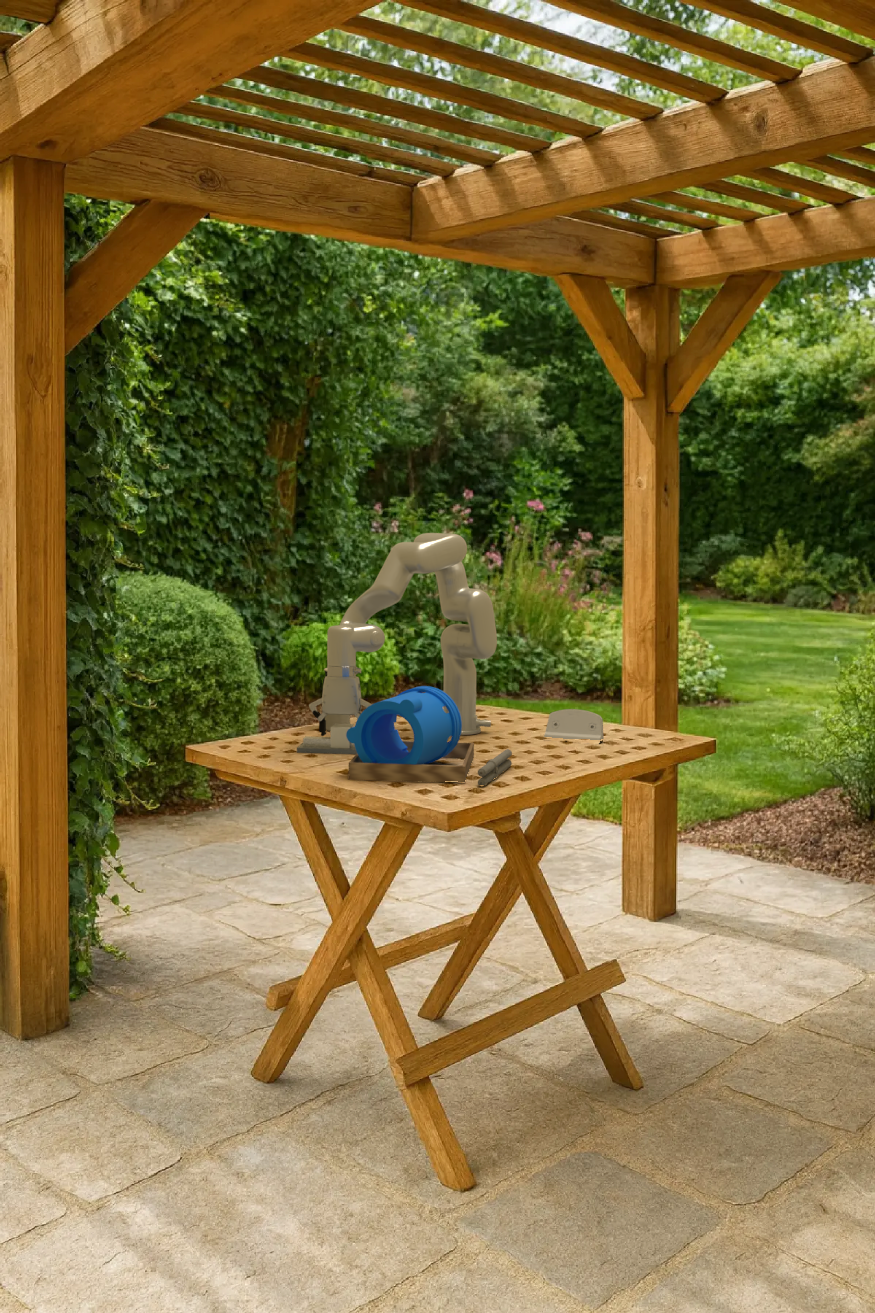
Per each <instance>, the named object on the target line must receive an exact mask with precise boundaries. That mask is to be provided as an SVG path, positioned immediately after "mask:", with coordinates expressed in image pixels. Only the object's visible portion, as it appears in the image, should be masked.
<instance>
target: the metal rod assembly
mask: <svg viewBox="0 0 875 1313" xmlns="http://www.w3.org/2000/svg"><path fill="white" fill-rule="evenodd" d="M512 754H513V752H512V750H511V749H509V748H507V749H505V750H503V751H501V753H499V754H498V755H497V756H495V757H494V758H491V759H489V760H487V762H486V764H484V765H483V766H481V767H480V768H479V769H477V775H478V776H479V777H480V778H479V779H478V780H477V785H478V786H479V785H485V786H486V785H488V784H489V783H490V782H492V781H494V780H493V779H494V778H496V777H497V778H498V775H499V774H500V775H501V774H502V773H504V772H505V771H506V770H508V769H509V768H510V767H511V766H512V764H513V763H512V760H511V759H510V757H512ZM503 771H504V772H503ZM500 775H499V776H500ZM497 778H496V779H497ZM491 780H492V781H491ZM488 782H489V783H488ZM487 783H488V784H487Z"/></svg>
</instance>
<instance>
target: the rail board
mask: <svg viewBox="0 0 875 1313" xmlns="http://www.w3.org/2000/svg"><path fill="white" fill-rule="evenodd" d="M296 753H302V754H303V753H305V754H309V753H310V754H333V755H334V754H335V755H336V754H337V755H340V754H341V755H356V754H357V751H356V748H355V745H354V743H351V742H350V748H331V736H308V735H307V736H304V737H302V743H301V744H300V745H299V746H297V747H296Z"/></svg>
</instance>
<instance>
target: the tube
mask: <svg viewBox="0 0 875 1313" xmlns="http://www.w3.org/2000/svg"><path fill="white" fill-rule="evenodd" d="M371 704H372V705H370V706H369V707H367V708H366V707H365V709H364V710H362V712H361V714H360V716H359V717H358V719H357V718H356V722H355V724H354V726H353V727H352V728H350V729H348V731H347V733H346V737H347V739H348V741H349V742H351V743H354V745H355V748H356V751H357V754H358V756H359V757H360V759H361V760H362V762H363V763H387V764H412V765H416V764H419V765H429V764H432V763H435V762H436V761H440V760H441V759H443V757H445V756H446V755H448V754H449V753H450V752H451V751H452V750H453V749H454V748H455V746H456V745H457V743H458V742H459V741H460V739H461V736H462V735H461V730H462V721H461V715H460V712H459V710H458V707H457V706H456V704H455V702H454V701H453V700H452V699H451V697H450V696H448V695H447V694H446V693H445V692H444V690H442V689H439V688H436V687H433V686H430V685H428V686H427V685H421V686H416V687H413V688H412V687H411V688H409V689H406V690H404V691H402V692H400V693H398V694H396V696H393V697H389V698H387V699H383V700H381V701H377V702H374V703H371ZM444 706H446V708H447V709H448V711H449V713H445V711H444V710H443V707H444ZM398 716H400V717H401V718H402V719H404V720H405V721H406V722H407V723H408V724H409V725H410V727H411V729H412V732H413V741H414V744H413V747H412V749H411V751H410V752H408V750H406V749H407V748H408V747H407V746H406V745H405V744H404V743H403V741H404V740H403V739H402V738H401V736H400V733H399V731H398V729H396V728H395V723H396V722H397V719H398V718H397V717H398ZM450 737H451V738H450ZM449 738H450V740H449ZM448 740H449V741H448Z"/></svg>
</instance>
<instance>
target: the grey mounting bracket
mask: <svg viewBox="0 0 875 1313" xmlns="http://www.w3.org/2000/svg"><path fill="white" fill-rule="evenodd" d="M603 721H604V719H603V718H602V716H601V715H600V714H597V713H595V712H592V711H589V710H586V709H585V710H584V709H577V708H575V709H574V708H566V709H559V710H556V711H552V712H551V713H549V715H548V719H547V724H546V727H545V732H544V734H543V738H544V737H552V738H563V739H590V740H601V739H604V722H603Z"/></svg>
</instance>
